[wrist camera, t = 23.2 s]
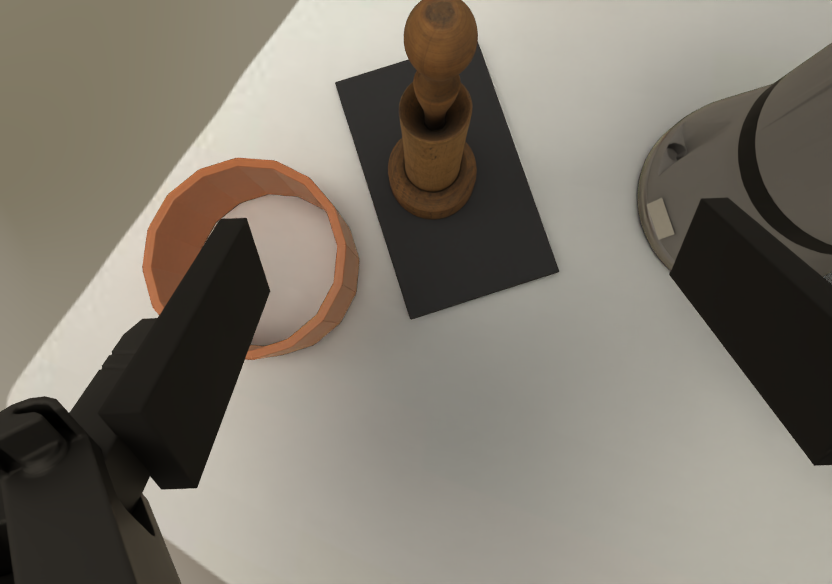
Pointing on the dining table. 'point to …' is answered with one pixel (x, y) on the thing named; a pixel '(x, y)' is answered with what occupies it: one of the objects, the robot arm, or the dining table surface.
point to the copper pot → (212, 199)
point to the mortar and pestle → (435, 112)
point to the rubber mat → (471, 225)
